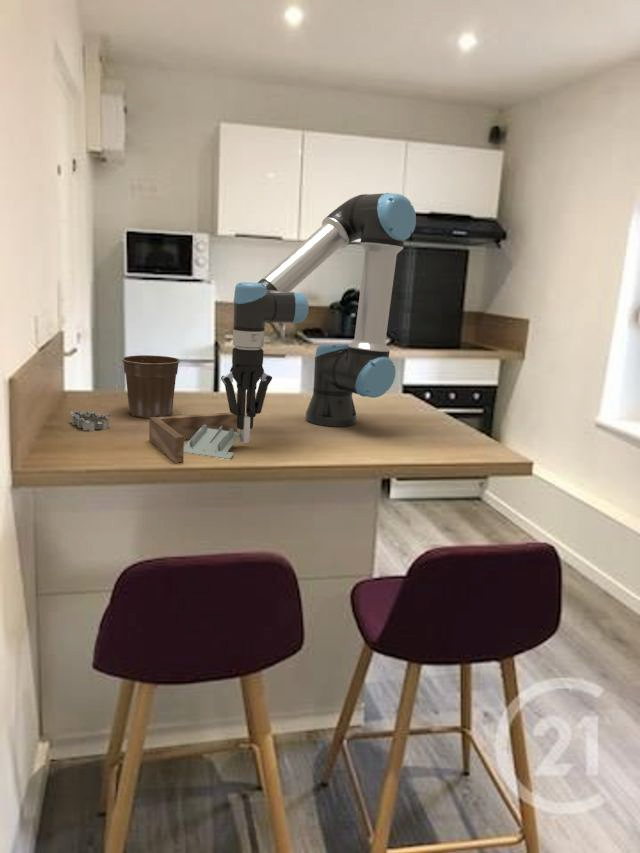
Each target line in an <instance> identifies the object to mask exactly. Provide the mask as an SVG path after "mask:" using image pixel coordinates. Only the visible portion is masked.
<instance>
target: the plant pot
mask: <svg viewBox="0 0 640 853" xmlns="http://www.w3.org/2000/svg"><path fill="white" fill-rule="evenodd" d="M121 361H122V363H123V371H124V372H123V373H124V374H125V381H126V392H127V401H128V402H127V404H128V414H130V415H131V416H132V417H137V418H143V419H149V418H152V417H168V416H169V415H170V416H172V414H173V407H174V406H173V405H174V397H175V388H176V381H177V380H176V378H177V375H178V372H179V363H181V359H179V358H177V357H173V356H165V355H151V354H150V355H146V354H145V355H143V354H141V355H140V354H139V355H138V354H137V355H129V356H124V357H123V356H122V358H121Z"/></svg>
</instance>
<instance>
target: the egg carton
mask: <svg viewBox="0 0 640 853" xmlns="http://www.w3.org/2000/svg"><path fill="white" fill-rule="evenodd" d="M69 412H70V415H71V425H72V426H77V428H79V429H82V430H83V431H84V432H85V431H87V430H89V432H94V431H96V430H107V429H109V425H110V424H109V423H110V421H109V418H110V417H111V415H110V414H109V413H105V414H103V413H102V414H100V413H97V414H96V412H94V411H91V412H88V410H86V411H83V410H82V411H79V410H77V411H72V410H70V411H69ZM95 429H96V430H95ZM87 432H88V431H87Z"/></svg>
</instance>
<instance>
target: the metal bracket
mask: <svg viewBox="0 0 640 853" xmlns="http://www.w3.org/2000/svg"><path fill="white" fill-rule="evenodd" d="M240 435H241V433H240V432H238V431H237V432H234V429H232V428H230V430H229V431H224V430H222V426H221V427H220V428H219V429H218V430H217V429H209V428H207V425H203V426H202V428H200V429H199V430H198V431H197V432H196V434H195V435H194V436H193V437H192V438H191V439H190V440H188V441H187V442H186V444H184V452H185V453H184V454H186V453H192V454H191V455H193V454H199V455H198V456H200V455H205V456H204V457H206V456H211V457H210V458H213V457H218V458H224V459H230V460H231V459H232V458H233V457H234V455H235V453H234V452H230V451H229V450H230V449H231V448H232V447H233V446H234V445H235V442H236V441H238V439H239V438H240Z"/></svg>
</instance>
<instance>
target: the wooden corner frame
mask: <svg viewBox="0 0 640 853" xmlns="http://www.w3.org/2000/svg"><path fill="white" fill-rule="evenodd" d="M148 421H149V422H148V425H149V426H148V427H149V429H148V438H149V439H148V441H149V442H150V444H152V443H153V444H154V445H155V446H154V445H153V444H152V445H153V446H154V447H156V449H158V448H159V449H160V450H161V451H162V452H161V451H160V450H159V449H158V450H159V451H160V452H161V453H163V454H164V455H165V454H166V455H167V456H168V457H169V458H168V457H167V456H166V455H165V456H166V457H167V458H168V459H169V460H170V461H171V462H173V461H174V462H175V463H174V462H173V463H174V464H179V463H178V462H182V463H184V456H185V455H184V454H185V453H184V446H185V444H184V442H185V441H187V440H186V439H191V438H192V437H193V436H194V435H195V434H196V432H197V431H198V430H199V429H200V428H202V426H203V425H207V428H209V429H217V430H218V429H219V428H220V427H221V426H222V430H224V431H229V430H230V428H232V429H234V432H238V428H237V415H234V414H232V413H231V412H220V413H219V412H218V413H203V414H202V413H200V414H188V415H187V414H186V415H174V416H172V415H170V416H166V417H160V416H156V417H152V418H148Z"/></svg>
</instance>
